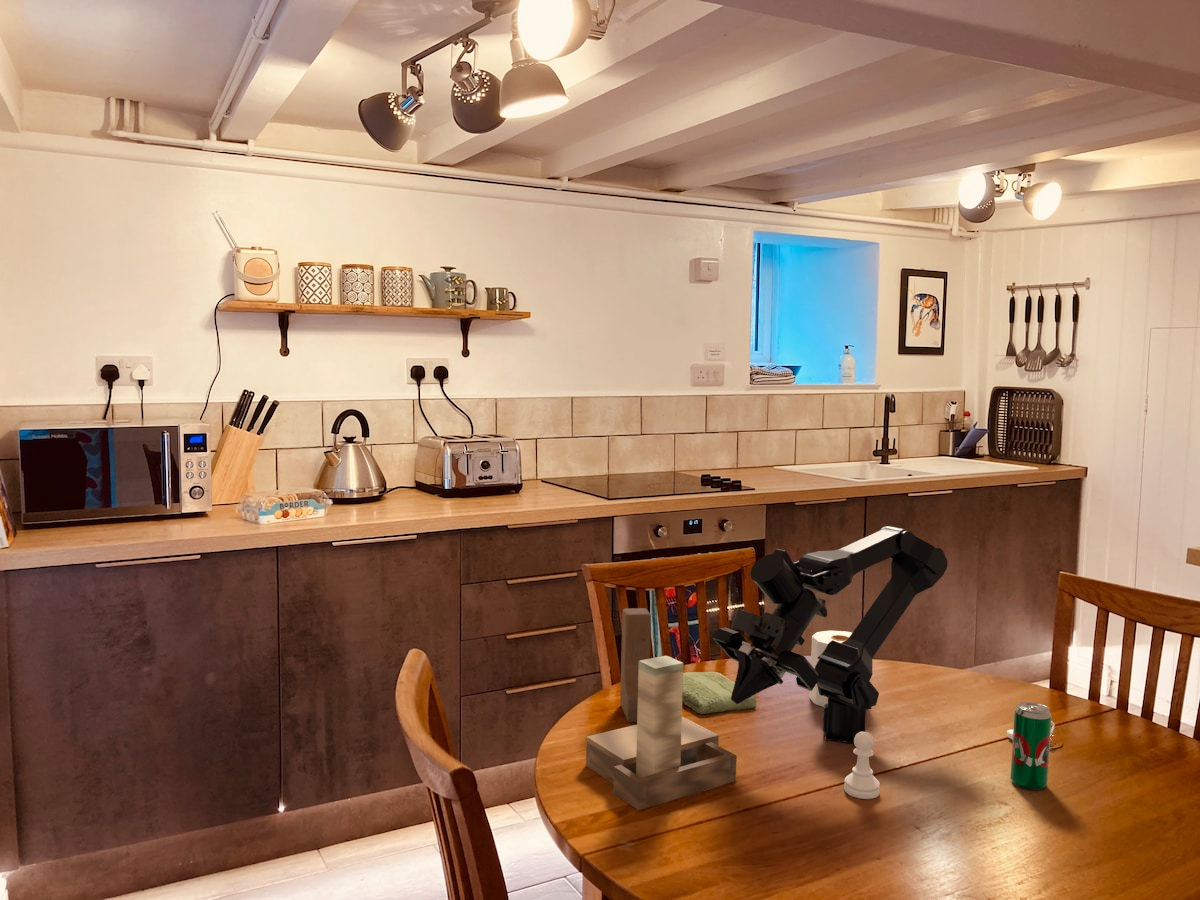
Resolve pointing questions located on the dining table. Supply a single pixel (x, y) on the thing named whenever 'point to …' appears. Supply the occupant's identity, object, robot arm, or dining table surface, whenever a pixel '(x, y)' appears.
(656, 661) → the tall beige rectangular block
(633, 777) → the box with sliding lid
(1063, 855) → the dining table surface
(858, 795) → the chess pawn
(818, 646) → the toilet paper
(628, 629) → the wooden block
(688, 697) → the washcloth
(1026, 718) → the soda can
